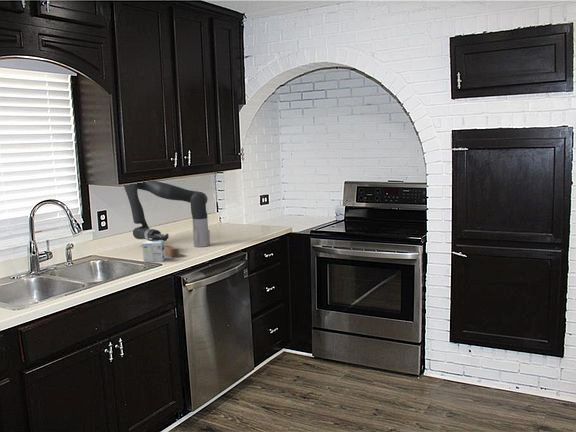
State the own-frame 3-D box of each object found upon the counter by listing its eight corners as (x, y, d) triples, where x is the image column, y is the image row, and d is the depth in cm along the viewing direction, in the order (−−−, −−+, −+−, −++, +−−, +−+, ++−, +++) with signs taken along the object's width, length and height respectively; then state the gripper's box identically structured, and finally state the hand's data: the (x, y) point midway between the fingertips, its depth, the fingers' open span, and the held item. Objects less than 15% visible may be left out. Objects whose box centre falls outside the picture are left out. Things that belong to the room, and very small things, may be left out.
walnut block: (168, 245, 330) (178, 248, 320) (168, 252, 330) (179, 256, 320) (161, 246, 327) (171, 249, 317) (161, 254, 328) (171, 257, 317)
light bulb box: (165, 259, 316) (163, 240, 314) (162, 261, 309) (161, 242, 308) (145, 259, 316) (144, 240, 314) (143, 262, 309) (141, 243, 307)
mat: (175, 252, 332) (175, 252, 332) (186, 256, 321) (186, 255, 321) (156, 255, 325) (156, 255, 325) (167, 259, 314) (167, 259, 314)
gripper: (141, 230, 335) (154, 234, 322) (162, 227, 343) (175, 231, 330) (142, 243, 336) (155, 247, 323) (163, 239, 344) (176, 243, 331)
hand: (165, 239), depth 326 cm, fingers closed
